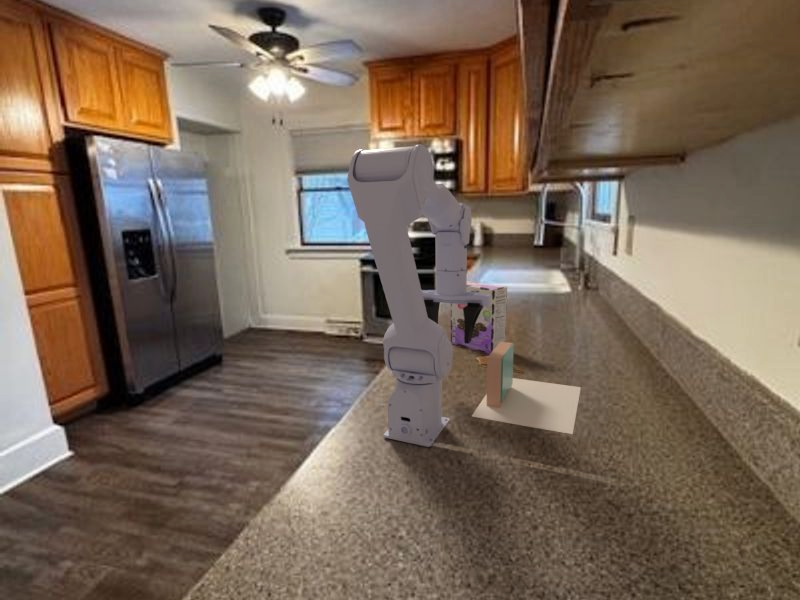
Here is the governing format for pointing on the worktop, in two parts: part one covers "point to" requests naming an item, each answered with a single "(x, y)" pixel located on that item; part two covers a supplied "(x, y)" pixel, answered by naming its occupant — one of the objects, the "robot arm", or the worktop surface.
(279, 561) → the worktop surface
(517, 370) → the shard
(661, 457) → the worktop surface
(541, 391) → the cutting board
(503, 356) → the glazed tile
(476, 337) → the candy box
